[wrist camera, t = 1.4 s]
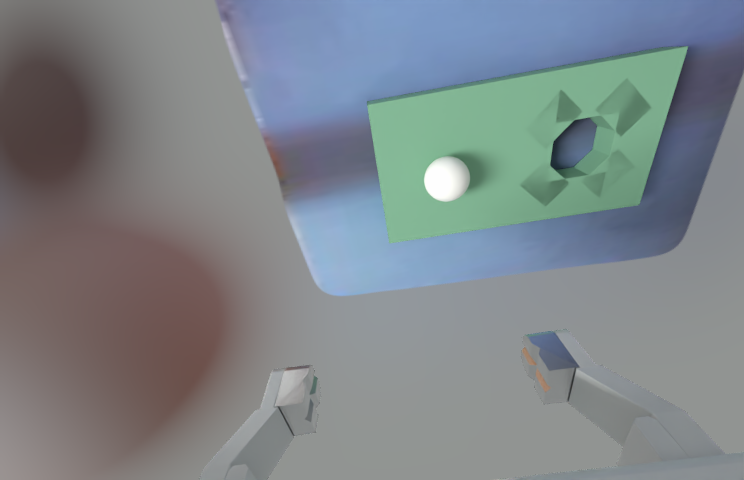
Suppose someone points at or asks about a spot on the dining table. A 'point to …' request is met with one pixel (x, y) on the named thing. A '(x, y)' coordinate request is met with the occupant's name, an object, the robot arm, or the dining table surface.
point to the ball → (447, 178)
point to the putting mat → (523, 143)
